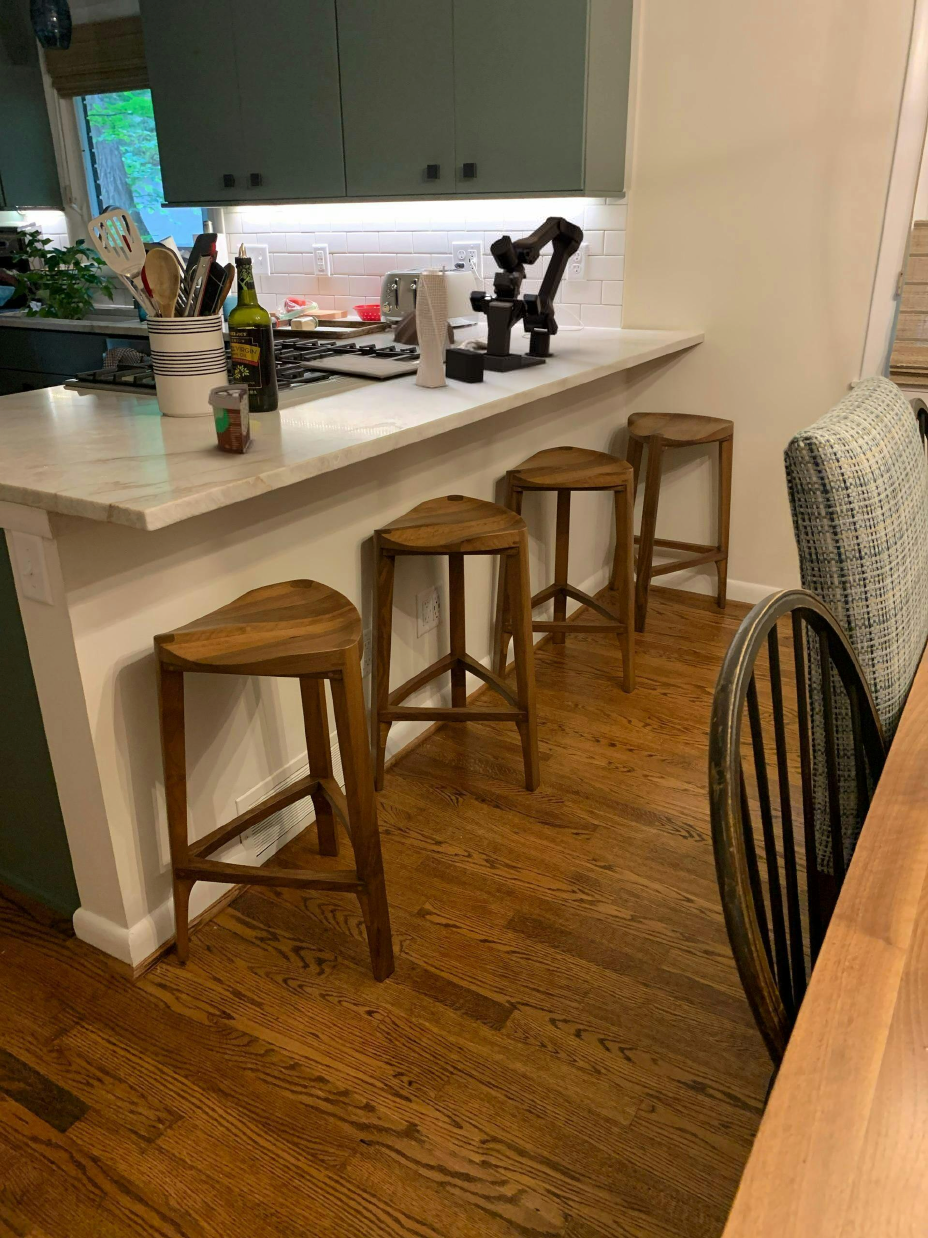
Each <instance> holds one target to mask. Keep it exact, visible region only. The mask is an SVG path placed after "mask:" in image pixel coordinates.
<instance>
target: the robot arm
mask: <svg viewBox="0 0 928 1238" xmlns="http://www.w3.org/2000/svg"><path fill="white" fill-rule="evenodd" d="M583 240H584V231H583V229H581V227H580V225H577V224H574V223H573V222H570V221H568V220H567V219H566V218H565V217H563V216H549V217H546V219H545V221H544V222H543V223H542V224H541V225H539V227H538V228H536V229H535V230H534V231H533V232H531V233H530V234H529V235H528V236H527V237H522V238H518V239H516V240H514V241H512V237H511V235H503V234H502V236H501V238H499V239H497V240H495V241H493V243H491V244H490V247H489V251H490V253H491V256H492V257H493V259H494V261H495V263H496V266H497V267H498V269H500V270H502V272H501V271H500V272H499V271H495V272H494V273H493V280H492V286H493V287H494V289H493V294H494V295H495V296H492V295H491V294H487V292H486V291H485V290H472V291H471V292H470V294H469V298H468V299H469V302H470V306H471V309H472V312H475V313H483V315H484V316H486V325H487V326H488V322H489V306H490V303H492V302H495V301H497V302H508V303H513V310H512V313H511V316H510V319H509V322H508V326H507V330H508V331H509V330H510V329H511V330H512V328H513V327H514V326H515V325H516V324H517V323H519V322H520V321H521V320H522V325H523V332H524V333H525V334H527V333H528V334H529V346H528V352H524V355H526V356H533V357H539V358H545V357H549V356H554V354H555V353H554V352H550V348H551V347H550V346H551V336H556V335H557V334H558V330H559V326H558V323H557V321H556V318H555V314H556V311H555V307H554V301H555V298H556V295H557V292H558V290H559V288H560V285H561V282H562V279H563V277H564V273H565V270H566V267H567V266H568V262H569V260H570V258H571V257H573V256H574V255H575V254H576V253H577V252H578V251H579V248H580V246H581V245H582V242H583ZM550 242H551V246H552V250H553V251H552V254H551V257H550V260H549V262H548V265H547V268H546V271H545V273H544V276H543V279H542V282H541V283H540V286H539V289H538V292H537V294H535V293H523V296H522V299H521V298H520V299H519V296H521V286H522V283H523V280H527V273H526V267H525V266H524V265H526V266H533V265H535V263H536V262H537V261H538V260H539V258H540V257H541V253H540V252H541V251H542V250H543V248H545V247H546V246H547V245H548V244H549V243H550Z"/></svg>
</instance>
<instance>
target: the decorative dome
mask: <svg viewBox="0 0 928 1238" xmlns="http://www.w3.org/2000/svg"><path fill="white" fill-rule="evenodd" d="M447 323H448V324H449V326H448V338H449V341H450V345H453V344H454V342H455V331H454V328H453V326H452V325H451V323H450V322H449V320H447ZM393 342H395V343H398V344H402V345H410V346H411V345H413V346H419V342H418V335H417V327H416V309H413V310H412V311H410V312H408V313H407V314H406V315H405V316H403V317H402V318H401V319H400V320H399V321H398V323H397V324H396V326H395V329H394V337H393Z"/></svg>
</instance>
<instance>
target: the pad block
mask: <svg viewBox="0 0 928 1238" xmlns="http://www.w3.org/2000/svg"><path fill="white" fill-rule="evenodd" d="M512 310H513V303H508V302H497V301H495V302H492V303H490V306H489V322H488V325H487V337H488V338H487V348H486V352H487V354H493V355H502V356H505V355H507V354H509V353H511V351H510V350H511V338H512V328H511V329H510V330H509V331H508V330H507V326H508V322H509V319H510V316H511V313H512Z"/></svg>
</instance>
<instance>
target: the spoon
mask: <svg viewBox="0 0 928 1238" xmlns="http://www.w3.org/2000/svg"><path fill="white" fill-rule="evenodd" d="M487 338H488V336H486V337H482V338H478V339H476V338H472V339H467V340H465V341H464V342H463V343H461V344H460V345H459V346H458V347H457V348H462V349H466V347H467V346H468V345H475V346H477V347H481V348H485V349H487Z"/></svg>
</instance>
